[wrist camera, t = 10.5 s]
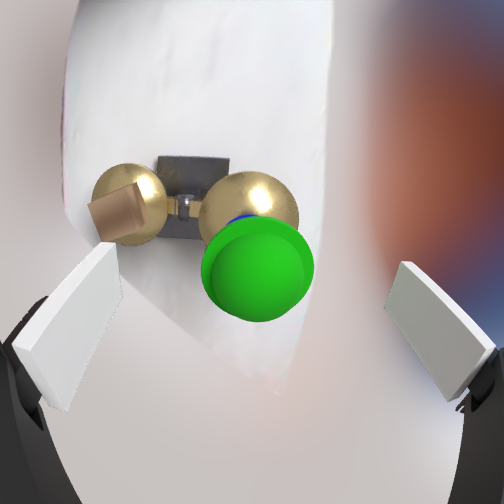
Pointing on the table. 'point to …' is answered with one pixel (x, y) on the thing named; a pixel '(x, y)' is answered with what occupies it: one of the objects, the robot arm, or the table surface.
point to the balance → (197, 197)
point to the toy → (257, 268)
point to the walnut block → (119, 212)
